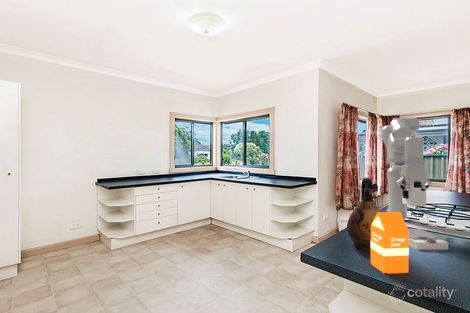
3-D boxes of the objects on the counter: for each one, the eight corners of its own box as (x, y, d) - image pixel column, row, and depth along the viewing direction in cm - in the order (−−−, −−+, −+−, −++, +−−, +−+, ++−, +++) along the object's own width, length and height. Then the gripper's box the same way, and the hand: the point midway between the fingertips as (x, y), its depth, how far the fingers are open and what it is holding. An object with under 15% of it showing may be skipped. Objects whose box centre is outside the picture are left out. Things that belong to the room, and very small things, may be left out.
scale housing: (393, 236, 120) (393, 229, 120) (420, 236, 120) (420, 229, 120) (418, 250, 103) (418, 241, 103) (449, 250, 103) (449, 241, 103)
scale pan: (396, 230, 119) (396, 228, 119) (419, 230, 119) (419, 228, 119) (412, 238, 108) (412, 236, 108) (438, 238, 108) (438, 236, 108)
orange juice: (370, 263, 92) (370, 209, 91) (392, 262, 92) (393, 209, 92) (384, 273, 84) (384, 215, 83) (409, 272, 84) (409, 214, 84)
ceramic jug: (393, 255, 98) (394, 180, 98) (352, 252, 101) (352, 180, 101) (378, 240, 115) (378, 176, 114) (342, 238, 118) (342, 175, 117)
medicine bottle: (416, 203, 125) (416, 179, 125) (426, 206, 118) (426, 181, 118) (401, 203, 126) (401, 179, 126) (410, 206, 119) (410, 181, 118)
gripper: (425, 162, 125) (425, 197, 125) (391, 162, 126) (391, 196, 126) (437, 162, 118) (437, 199, 118) (400, 162, 118) (400, 199, 118)
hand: (413, 197), depth 122 cm, fingers closed on medicine bottle, 7 cm apart
